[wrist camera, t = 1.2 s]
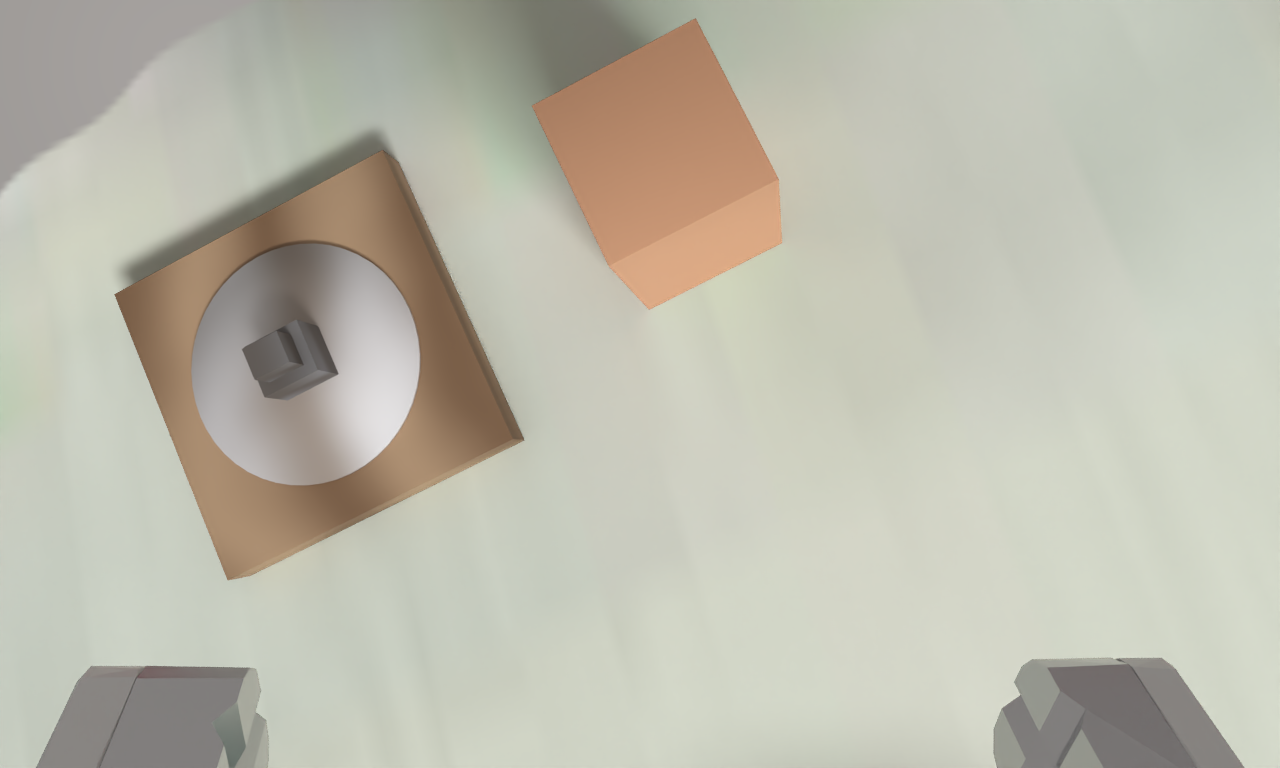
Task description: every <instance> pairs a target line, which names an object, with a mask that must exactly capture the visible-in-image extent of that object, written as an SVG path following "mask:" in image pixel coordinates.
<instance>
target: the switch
mask: <svg viewBox="0 0 1280 768" xmlns="http://www.w3.org/2000/svg"><path fill="white" fill-rule="evenodd" d="M115 297H116V299H117V302H118V305H119V307H120V310H121V312H122V315H123V317H124V320H125V322H126V325H127V327H128V330H129V332H130V335H131V337H132V340H133V342H134V345H135V347H136V350H137V352H138V355H139V358H140V360H141V363H142V365H143V368H144V370H145V373H146V375H147V378H148V380H149V383H150V385H151V388H152V390H153V393H154V395H155V398H156V400H157V403H158V405H159V408H160V411H161V413H162V416H163V418H164V421H165V423H166V426H167V428H168V431H169V433H170V436H171V438H172V441H173V443H174V446H175V448H176V451H177V453H178V456H179V458H180V461H181V464H182V466H183V469H184V471H185V474H186V476H187V479H188V481H189V484H190V486H191V489H192V491H193V494H194V496H195V499H196V501H197V504H198V506H199V509H200V511H201V514H202V517H203V519H204V522H205V524H206V527H207V529H208V532H209V534H210V537H211V539H212V542H213V544H214V547H215V549H216V552H217V554H218V557H219V559H220V562H221V564H222V567H223V570H224V572H225V575H226V577H227V580H232V579H237V578H242V577H247V576H251V575H253V574H255V573H257V572H259V571H261V570H263V569H265V568H267V567H269V566H271V565H273V564H275V563H277V562H279V561H281V560H283V559H285V558H287V557H289V556H291V555H293V554H295V553H297V552H299V551H301V550H303V549H305V548H307V547H309V546H311V545H313V544H315V543H317V542H319V541H321V540H323V539H326V538H328V537H330V536H332V535H334V534H336V533H338V532H340V531H342V530H344V529H346V528H348V527H350V526H352V525H354V524H356V523H358V522H360V521H362V520H364V519H366V518H368V517H370V516H372V515H374V514H376V513H378V512H380V511H382V510H384V509H386V508H388V507H390V506H392V505H394V504H396V503H398V502H400V501H402V500H404V499H406V498H408V497H410V496H412V495H414V494H417V493H419V492H421V491H423V490H425V489H427V488H429V487H431V486H433V485H435V484H437V483H439V482H441V481H443V480H445V479H447V478H449V477H451V476H453V475H455V474H457V473H459V472H461V471H463V470H465V469H467V468H469V467H471V466H473V465H475V464H477V463H479V462H481V461H483V460H485V459H487V458H489V457H491V456H493V455H495V454H497V453H499V452H501V451H503V450H505V449H508V448H510V447H512V446H514V445H516V444H518V443H520V442H522V441H524V438H523V436H522V434H521V432H520V429H519V427H518V425H517V423H516V421H515V418H514V416H513V414H512V412H511V410H510V407H509V405H508V403H507V401H506V399H505V396H504V394H503V392H502V390H501V388H500V385H499V383H498V381H497V379H496V377H495V374H494V372H493V370H492V368H491V365H490V363H489V361H488V359H487V357H486V354H485V352H484V350H483V348H482V346H481V343H480V341H479V339H478V337H477V335H476V332H475V330H474V328H473V326H472V324H471V321H470V319H469V317H468V315H467V312H466V310H465V308H464V306H463V304H462V301H461V299H460V297H459V295H458V293H457V290H456V288H455V286H454V284H453V282H452V279H451V277H450V275H449V273H448V271H447V268H446V266H445V264H444V262H443V260H442V257H441V255H440V253H439V251H438V248H437V246H436V244H435V242H434V240H433V237H432V235H431V233H430V231H429V229H428V226H427V224H426V222H425V220H424V218H423V215H422V213H421V211H420V209H419V207H418V204H417V202H416V200H415V198H414V195H413V193H412V191H411V189H410V187H409V184H408V182H407V180H406V178H405V176H404V173H403V171H402V169H401V167H400V165H399V162H397V161H396V160H395V159H394V158H392V157H391V156H390V155H388V154H387V153H386V152H384V151H383V150H381V151H380V152H378V153H376V154H374V155H372V156H370V157H368V158H367V159H365V160H363V161H361V162H359V163H357V164H355V165H354V166H352V167H350V168H348V169H346V170H344V171H343V172H341V173H339V174H337V175H335V176H333V177H331V178H330V179H328V180H326V181H324V182H322V183H320V184H318V185H317V186H315V187H313V188H311V189H309V190H307V191H305V192H304V193H302V194H300V195H298V196H296V197H294V198H292V199H291V200H289V201H287V202H285V203H283V204H281V205H279V206H278V207H276V208H274V209H272V210H270V211H268V212H266V213H265V214H263V215H261V216H259V217H257V218H255V219H253V220H252V221H250V222H248V223H246V224H244V225H242V226H240V227H239V228H237V229H235V230H233V231H231V232H229V233H227V234H226V235H224V236H222V237H220V238H218V239H216V240H214V241H213V242H211V243H209V244H207V245H205V246H203V247H201V248H200V249H198V250H196V251H194V252H192V253H190V254H188V255H187V256H185V257H183V258H181V259H179V260H177V261H175V262H174V263H172V264H170V265H168V266H166V267H164V268H162V269H161V270H159V271H157V272H155V273H153V274H151V275H149V276H148V277H146V278H144V279H142V280H140V281H138V282H136V283H135V284H133V285H131V286H129V287H127V288H125V289H123V290H122V291H120V292H118V293H116V294H115Z"/></svg>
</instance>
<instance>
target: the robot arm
mask: <svg viewBox="0 0 1280 768" xmlns="http://www.w3.org/2000/svg"><path fill="white" fill-rule="evenodd" d="M1014 683H1015V685H1016V687H1017V689H1018V691H1019V693H1020V696H1019V697H1017V698H1016V699H1015V700H1013V701H1012V702H1010V703H1009V704H1008V705H1006V706H1005V707H1003V708H1002V709H1001V712H1000V714H999V717H998V719H997V722H996V724H995V727H994V757H995V761H996V766H997V768H1244V766H1243V765H1242V763H1241V762H1240V760H1239V759H1238V758H1237V756H1236V755H1235V753H1234V752H1233V750H1232V749H1231V748H1230V746H1229V745H1228V743H1227V742H1226V740H1225V739H1224V738H1223V736H1222V735H1221V733H1220V732H1219V730H1218V729H1217V728H1216V726H1215V725H1214V723H1213V722H1212V720H1211V719H1210V718H1209V716H1208V715H1207V713H1206V712H1205V710H1204V709H1203V708H1202V706H1201V705H1200V703H1199V702H1198V700H1197V699H1196V698H1195V696H1194V695H1193V693H1192V692H1191V690H1190V689H1189V688H1188V686H1187V685H1186V683H1185V682H1184V680H1183V679H1182V678H1181V676H1180V675H1179V673H1178V672H1177V670H1176V669H1175V668H1174V667H1173V666H1172V665H1171V664H1169V663H1168V662H1166V661H1165V660H1164V659H1162V658H1119V659H1113V658H1074V659H1032V660H1030V661H1029V662H1028V663H1026V664H1025V665H1023V666H1022V667H1021V669H1020V671H1019V673H1018V675H1017V677H1016V679H1015V681H1014ZM260 693H261V688H260V683H259V679H258V674H257V669H255V668H232V667H172V666H91V667H90V668H89V669H88V670H87V671H86V672H85V674H84V675H83V676H82V677H81V678H80V679H79V680H78V681H77V683H76V685H75V687H74V689H73V691H72V694H71V696H70V698H69V700H68V702H67V704H66V706H65V708H64V710H63V712H62V714H61V717H60V719H59V721H58V723H57V725H56V727H55V729H54V731H53V733H52V735H51V738H50V740H49V742H48V744H47V746H46V748H45V750H44V752H43V754H42V756H41V758H40V761H39V763H38V765H37V767H36V768H268V761H269V736H268V730H267V723H266V720H265V719H264V718H263V717H261V716H260V715H259V714H258V713H256V708H257V704H258V701H259V697H260Z"/></svg>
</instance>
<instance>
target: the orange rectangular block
mask: <svg viewBox="0 0 1280 768" xmlns="http://www.w3.org/2000/svg"><path fill="white" fill-rule="evenodd" d="M532 107H533V109H534V111H535V113H536V116H537V118H538V120H539V122H540V124H541V126H542V128H543V130H544V132H545V134H546V136H547V138H548V141H549V143H550V145H551V147H552V149H553V151H554V153H555V155H556V157H557V159H558V161H559V163H560V166H561V168H562V170H563V172H564V174H565V176H566V178H567V180H568V182H569V184H570V186H571V188H572V191H573V193H574V195H575V197H576V199H577V201H578V203H579V205H580V207H581V209H582V211H583V213H584V215H585V218H586V220H587V222H588V224H589V226H590V228H591V230H592V232H593V234H594V236H595V238H596V240H597V243H598V245H599V247H600V249H601V251H602V253H603V255H604V257H605V259H606V261H607V263H608V265H609V267H610V268H611V269H612V270H613V271H614V272H615V273H616V274H617V275H618V276H619V278H620V279H621V280H622V281H623V282H624V283H625V284H626V285H627V286H628V287H629V288H630V289H631V291H632V292H633V293H634V294H635V295H636V296H637V297H638V298H639V299H640V300H641V301H642V302H643V304H644V305H645V306H646V307H647V308H648V309H651V308H653V307H655V306H657V305H659V304H661V303H663V302H665V301H667V300H669V299H671V298H673V297H675V296H677V295H679V294H681V293H683V292H685V291H687V290H689V289H691V288H693V287H695V286H697V285H699V284H701V283H703V282H705V281H707V280H709V279H711V278H713V277H715V276H717V275H719V274H721V273H723V272H725V271H727V270H729V269H731V268H733V267H735V266H737V265H739V264H741V263H743V262H745V261H747V260H749V259H751V258H753V257H755V256H757V255H759V254H761V253H763V252H765V251H767V250H769V249H771V248H773V247H775V246H777V245H779V244H781V243H782V235H781V215H780V196H779V179H778V177H777V175H776V173H775V171H774V169H773V167H772V165H771V163H770V161H769V159H768V157H767V156H766V154H765V152H764V150H763V148H762V146H761V144H760V142H759V140H758V138H757V136H756V134H755V132H754V130H753V128H752V126H751V125H750V123H749V121H748V119H747V117H746V115H745V113H744V111H743V109H742V107H741V105H740V103H739V101H738V99H737V97H736V95H735V93H734V92H733V90H732V88H731V86H730V84H729V82H728V80H727V78H726V76H725V74H724V72H723V70H722V68H721V66H720V64H719V62H718V61H717V59H716V57H715V55H714V53H713V51H712V49H711V47H710V45H709V43H708V41H707V39H706V37H705V35H704V33H703V31H702V30H701V28H700V26H699V24H698V22H697V20H696V18H695V19H693V20H691V21H690V22H688V23H686V24H684V25H682V26H680V27H678V28H676V29H675V30H673V31H671V32H669V33H667V34H665V35H663V36H661V37H660V38H658V39H656V40H654V41H652V42H650V43H648V44H647V45H645V46H643V47H641V48H639V49H637V50H635V51H633V52H632V53H630V54H628V55H626V56H624V57H622V58H620V59H618V60H617V61H615V62H613V63H611V64H609V65H607V66H605V67H603V68H602V69H600V70H598V71H596V72H594V73H592V74H590V75H588V76H587V77H585V78H583V79H581V80H579V81H577V82H575V83H574V84H572V85H570V86H568V87H566V88H564V89H562V90H560V91H559V92H557V93H555V94H553V95H551V96H549V97H547V98H545V99H544V100H542V101H540V102H538V103H536V104H534V105H532Z"/></svg>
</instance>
